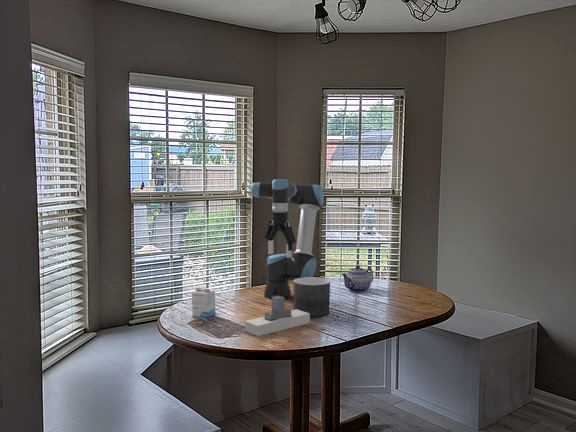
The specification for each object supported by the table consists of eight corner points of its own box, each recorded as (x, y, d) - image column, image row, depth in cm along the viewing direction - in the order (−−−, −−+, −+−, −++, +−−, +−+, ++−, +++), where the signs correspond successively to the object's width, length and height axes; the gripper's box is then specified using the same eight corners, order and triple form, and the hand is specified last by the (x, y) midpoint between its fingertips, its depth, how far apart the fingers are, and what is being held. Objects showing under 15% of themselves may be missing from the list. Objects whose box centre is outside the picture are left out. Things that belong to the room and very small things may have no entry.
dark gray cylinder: (310, 305, 270) (311, 275, 268) (337, 312, 257) (337, 281, 256) (286, 312, 257) (286, 280, 256) (312, 319, 245) (312, 286, 243)
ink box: (215, 313, 254) (215, 286, 253) (207, 317, 247) (207, 289, 245) (200, 311, 257) (200, 284, 256) (191, 316, 249) (191, 288, 248)
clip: (270, 329, 228) (270, 300, 226) (264, 327, 231) (264, 298, 229) (291, 324, 235) (291, 296, 234) (285, 322, 238) (285, 294, 237)
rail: (257, 336, 220) (257, 325, 219) (244, 331, 227) (244, 321, 226) (309, 323, 239) (309, 313, 239) (296, 318, 246) (296, 309, 246)
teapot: (364, 285, 318) (364, 261, 317) (382, 290, 305) (383, 265, 304) (332, 290, 304) (333, 265, 302) (350, 296, 291) (350, 269, 290)
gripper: (257, 210, 257) (257, 252, 259) (291, 213, 238) (290, 259, 240) (269, 209, 262) (269, 251, 263) (303, 212, 243) (302, 258, 245)
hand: (279, 255), depth 252 cm, fingers open, 13 cm apart
